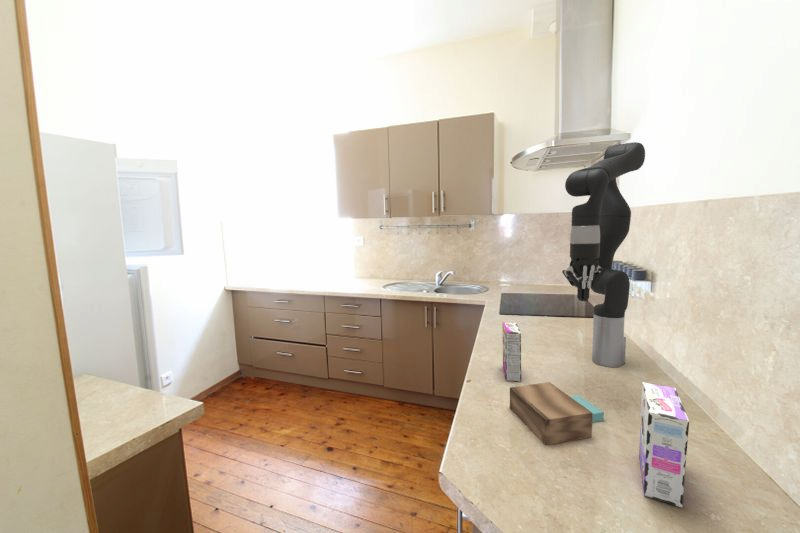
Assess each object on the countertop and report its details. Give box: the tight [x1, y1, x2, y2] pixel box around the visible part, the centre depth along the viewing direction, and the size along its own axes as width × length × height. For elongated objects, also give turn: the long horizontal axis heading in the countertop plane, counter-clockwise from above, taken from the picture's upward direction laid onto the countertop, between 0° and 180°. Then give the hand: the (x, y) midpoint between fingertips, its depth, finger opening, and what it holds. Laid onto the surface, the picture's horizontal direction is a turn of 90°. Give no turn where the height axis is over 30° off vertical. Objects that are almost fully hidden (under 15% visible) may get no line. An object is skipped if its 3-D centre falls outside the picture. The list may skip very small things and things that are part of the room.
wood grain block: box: [509, 381, 593, 445], centre depth 85 cm, size 12×16×6 cm
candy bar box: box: [501, 321, 522, 383], centre depth 112 cm, size 11×5×16 cm, turn 168°
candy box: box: [638, 381, 690, 508], centre depth 65 cm, size 14×6×16 cm, turn 148°
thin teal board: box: [570, 394, 605, 424], centre depth 88 cm, size 16×9×3 cm, turn 102°
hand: (583, 300), depth 99 cm, fingers closed
